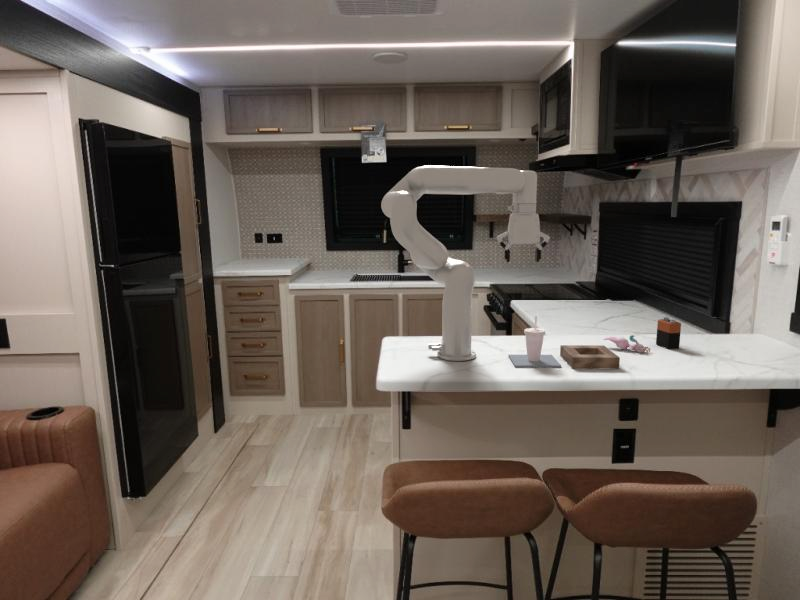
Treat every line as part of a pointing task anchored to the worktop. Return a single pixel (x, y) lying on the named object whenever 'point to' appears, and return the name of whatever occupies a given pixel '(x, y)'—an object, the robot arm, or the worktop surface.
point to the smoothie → (534, 342)
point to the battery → (668, 333)
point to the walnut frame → (589, 356)
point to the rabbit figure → (625, 344)
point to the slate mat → (524, 362)
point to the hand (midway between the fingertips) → (522, 261)
